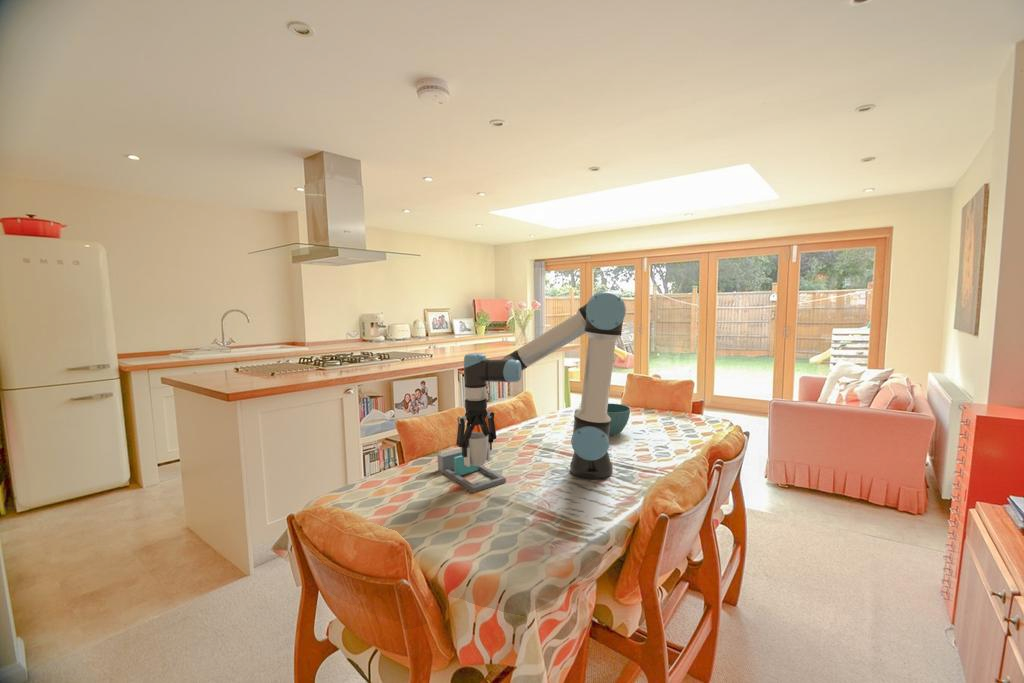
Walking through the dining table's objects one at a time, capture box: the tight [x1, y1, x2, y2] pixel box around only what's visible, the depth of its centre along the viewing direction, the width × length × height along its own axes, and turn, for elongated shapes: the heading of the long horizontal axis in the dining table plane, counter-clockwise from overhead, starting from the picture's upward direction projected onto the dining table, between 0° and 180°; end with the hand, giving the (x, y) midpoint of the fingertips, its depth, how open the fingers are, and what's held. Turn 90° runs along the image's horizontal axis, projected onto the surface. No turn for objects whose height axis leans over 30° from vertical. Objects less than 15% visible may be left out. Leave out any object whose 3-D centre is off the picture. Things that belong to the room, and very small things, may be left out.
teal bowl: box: [607, 402, 631, 437], centre depth 202 cm, size 18×18×12 cm
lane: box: [437, 447, 507, 493], centre depth 157 cm, size 26×13×6 cm, turn 36°
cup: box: [468, 431, 488, 466], centre depth 152 cm, size 8×8×10 cm
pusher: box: [454, 455, 479, 476], centre depth 160 cm, size 5×9×7 cm, turn 126°
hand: (477, 462), depth 152 cm, fingers closed on cup, 8 cm apart
